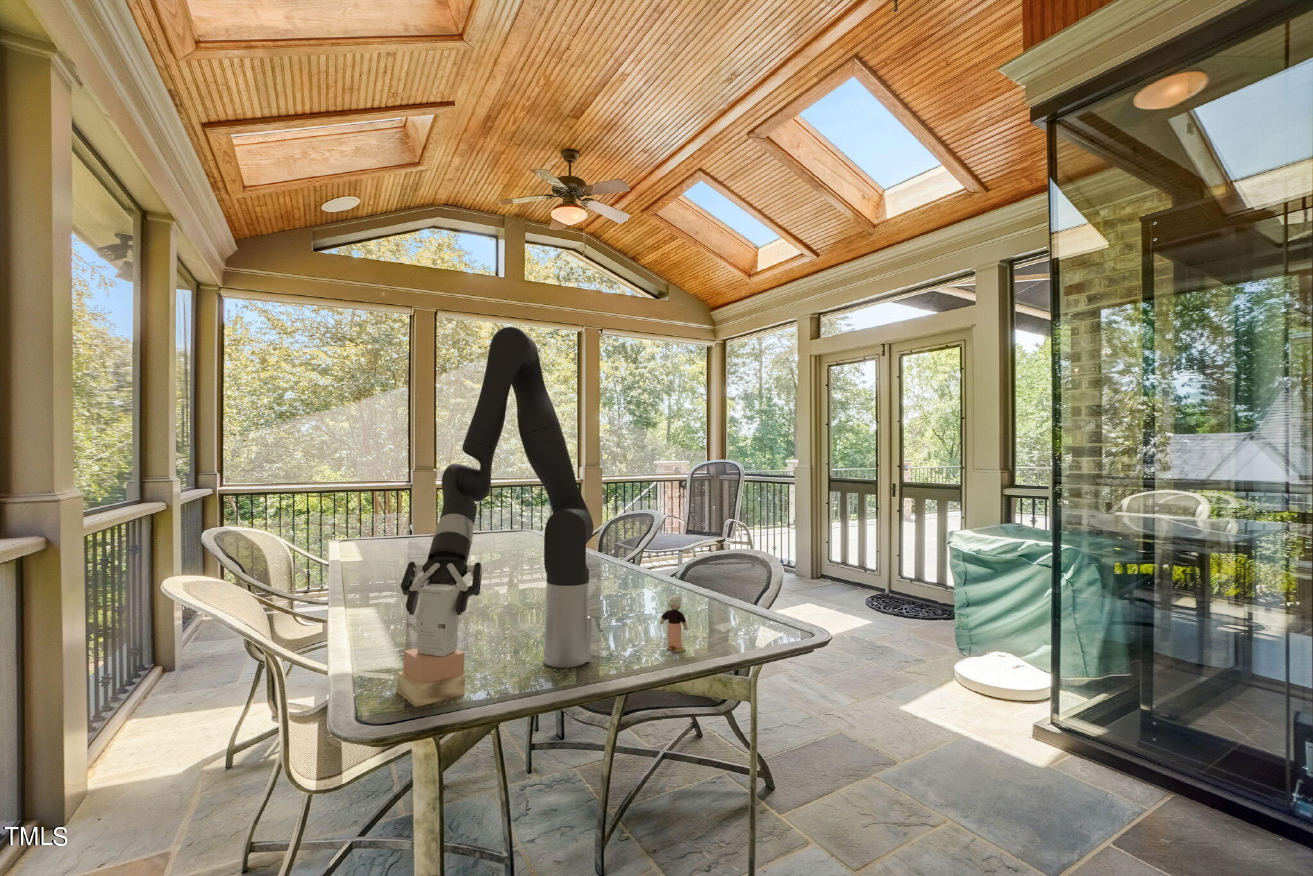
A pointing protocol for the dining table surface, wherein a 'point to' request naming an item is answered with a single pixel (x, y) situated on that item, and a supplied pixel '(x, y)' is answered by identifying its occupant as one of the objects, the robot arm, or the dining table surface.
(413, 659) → the tower top
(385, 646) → the dining table surface
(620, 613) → the dining table surface
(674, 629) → the grandmother figurine
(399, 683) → the tower base
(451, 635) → the skincare box
